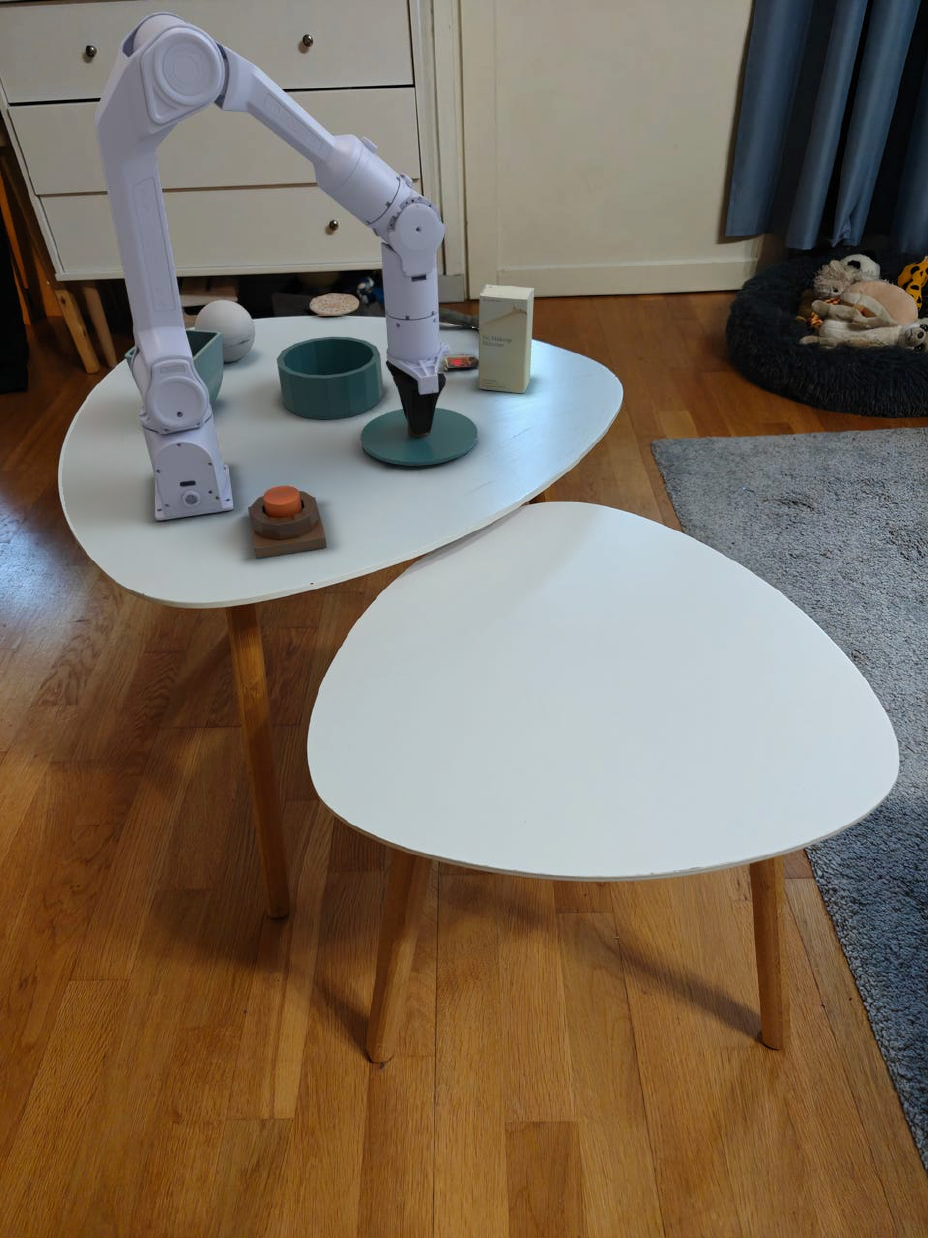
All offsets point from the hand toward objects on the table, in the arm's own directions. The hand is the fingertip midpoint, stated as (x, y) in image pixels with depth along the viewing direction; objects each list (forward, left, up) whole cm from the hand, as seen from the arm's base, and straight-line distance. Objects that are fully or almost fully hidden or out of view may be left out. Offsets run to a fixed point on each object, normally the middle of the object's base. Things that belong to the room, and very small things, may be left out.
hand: (418, 426), depth 109 cm
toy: (+31, -13, +2) cm, 34 cm away
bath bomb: (+31, +20, -2) cm, 37 cm away
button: (-15, +17, +1) cm, 23 cm away
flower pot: (+16, +26, -2) cm, 31 cm away
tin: (+15, +8, -2) cm, 17 cm away
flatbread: (+46, +3, -2) cm, 46 cm away
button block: (-15, +17, -2) cm, 23 cm away
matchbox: (+20, -10, -2) cm, 22 cm away
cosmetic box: (+12, -14, -2) cm, 19 cm away
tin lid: (0, 0, -1) cm, 1 cm away
